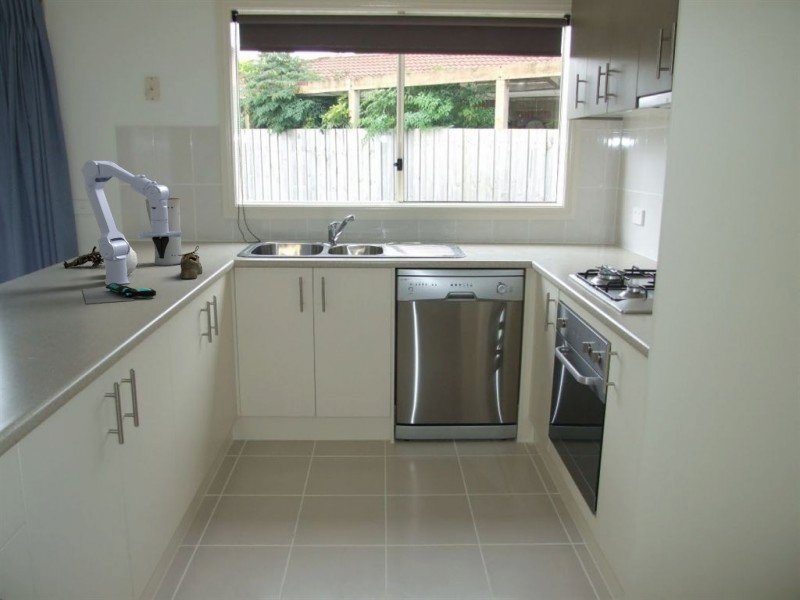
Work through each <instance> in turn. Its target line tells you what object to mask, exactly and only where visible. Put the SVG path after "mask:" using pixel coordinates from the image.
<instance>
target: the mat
mask: <svg viewBox="0 0 800 600" xmlns="http://www.w3.org/2000/svg"><path fill="white" fill-rule="evenodd" d="M82 293H83V296H84V300H85V305H95V304H96V303H99V304H109V303H108V302H112V303H122V302H121V301H125V302H134V301H135V299H134V297H126V296H123V295H121V294H118V293H116V292H113V291H111V290H110V289H107V288H105V287H101V288H100V287H99V288H84V289H82ZM96 305H97V304H96Z"/></svg>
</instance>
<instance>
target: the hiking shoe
mask: <svg viewBox="0 0 800 600" xmlns="http://www.w3.org/2000/svg"><path fill="white" fill-rule="evenodd" d="M197 251H199V245H197V246H196V247H195V249H194V251H190V252H187V253H184V254H183V253H181V254H182V255H178V256H181V257H182V258H181V261H180V264H179V265H180V279H182V280H194V279H195V280H196V279H198V275H201V274H203V270H204V269H203V266H202V264H201V262H200V256H199V253H197Z"/></svg>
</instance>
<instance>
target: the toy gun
mask: <svg viewBox="0 0 800 600" xmlns="http://www.w3.org/2000/svg"><path fill="white" fill-rule="evenodd" d="M104 288H107V289H110V290H111V291H113V292H116V293H118V294H121V295H123V296H126V297H133V298H146V299H147V298H153V297H156V296H157V291H156V290H154V289H153V288H152V287H147V288H145V287H144V288H142V287H141V288H133V287H129V286H127V285H124V284H117V283H111V284H109V285H106V286H105V287H104Z"/></svg>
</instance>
